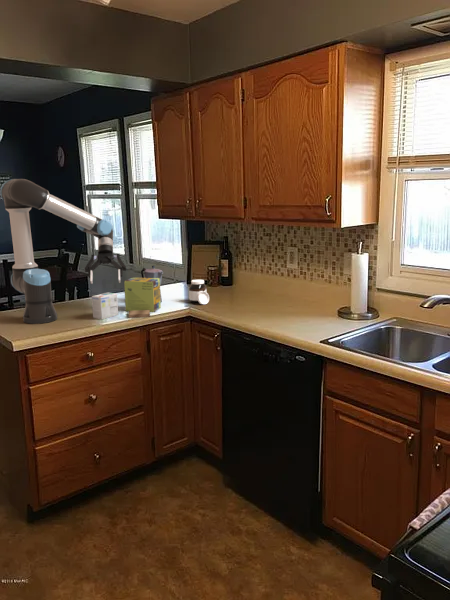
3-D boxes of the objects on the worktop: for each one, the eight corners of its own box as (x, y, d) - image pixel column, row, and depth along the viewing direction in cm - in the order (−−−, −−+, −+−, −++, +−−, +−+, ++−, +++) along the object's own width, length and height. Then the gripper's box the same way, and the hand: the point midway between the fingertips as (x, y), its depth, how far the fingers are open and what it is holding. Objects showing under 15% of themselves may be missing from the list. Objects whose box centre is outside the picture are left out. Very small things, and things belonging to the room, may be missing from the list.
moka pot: (158, 305, 275) (157, 267, 270) (135, 302, 282) (134, 265, 278) (169, 301, 283) (168, 265, 279) (146, 299, 290) (145, 263, 286)
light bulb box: (109, 313, 259) (108, 291, 257) (118, 315, 255) (117, 293, 253) (92, 317, 251) (90, 295, 248) (101, 319, 247) (100, 297, 245)
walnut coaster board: (128, 317, 250) (128, 314, 250) (129, 313, 258) (128, 310, 257) (149, 316, 251) (149, 313, 251) (149, 312, 259) (149, 309, 259)
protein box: (154, 312, 260) (153, 281, 257) (125, 311, 263) (123, 280, 260) (161, 307, 270) (160, 278, 267) (132, 306, 273) (131, 277, 270)
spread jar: (196, 299, 288) (195, 278, 286) (214, 301, 283) (214, 280, 281) (185, 304, 278) (184, 282, 275) (204, 306, 273) (203, 283, 270)
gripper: (130, 251, 277) (131, 285, 265) (81, 253, 273) (80, 287, 262) (129, 242, 270) (130, 276, 259) (79, 244, 267) (78, 278, 255)
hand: (105, 282), depth 260 cm, fingers open, 13 cm apart
